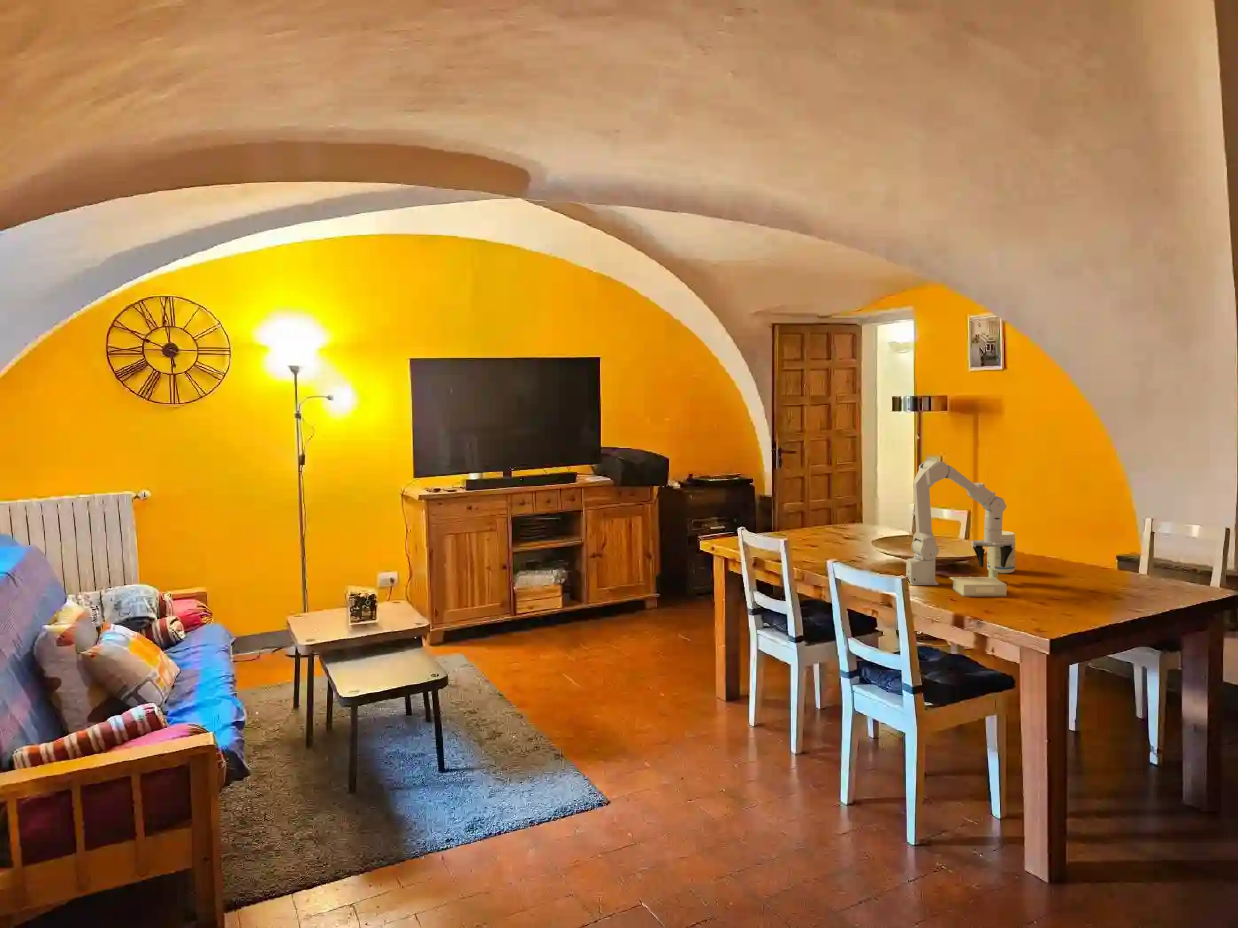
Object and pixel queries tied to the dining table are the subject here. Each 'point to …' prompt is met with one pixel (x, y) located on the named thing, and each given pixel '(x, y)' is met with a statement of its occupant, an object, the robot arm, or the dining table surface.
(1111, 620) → the dining table surface
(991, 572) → the lid
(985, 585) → the block
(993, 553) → the supplement tub
